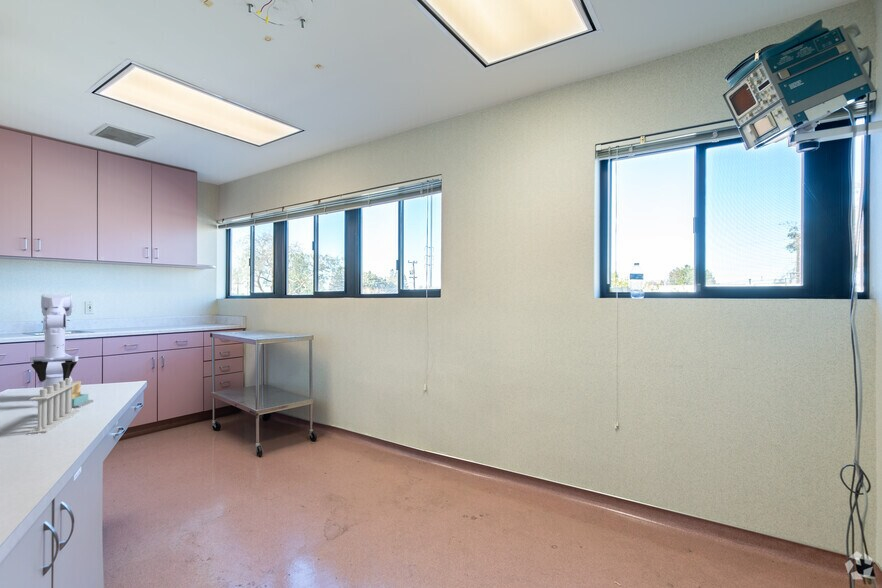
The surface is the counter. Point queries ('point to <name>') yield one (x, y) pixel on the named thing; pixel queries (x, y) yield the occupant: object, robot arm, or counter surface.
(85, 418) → the counter surface
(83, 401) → the stand
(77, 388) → the plank
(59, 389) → the test tube rack
